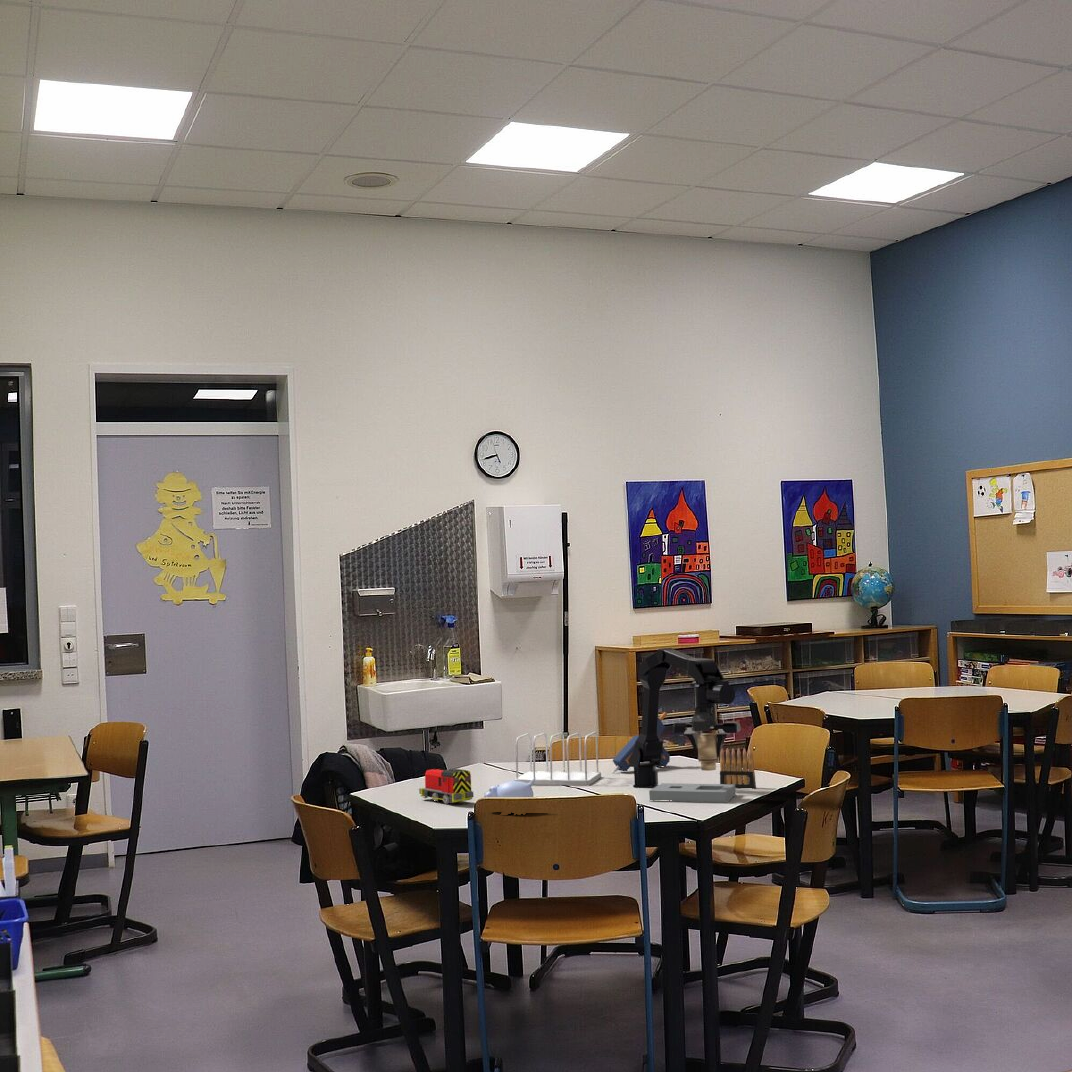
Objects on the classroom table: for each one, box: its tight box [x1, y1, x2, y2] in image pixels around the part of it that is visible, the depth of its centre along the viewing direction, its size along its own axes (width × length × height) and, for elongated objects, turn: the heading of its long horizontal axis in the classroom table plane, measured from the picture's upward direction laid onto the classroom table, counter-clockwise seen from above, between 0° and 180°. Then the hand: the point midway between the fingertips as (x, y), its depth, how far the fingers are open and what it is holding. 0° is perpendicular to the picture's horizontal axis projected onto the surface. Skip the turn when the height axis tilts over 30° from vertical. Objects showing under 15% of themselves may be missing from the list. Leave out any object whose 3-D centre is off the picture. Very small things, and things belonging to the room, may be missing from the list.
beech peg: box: [697, 733, 719, 772], centre depth 338 cm, size 6×6×10 cm
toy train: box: [418, 767, 474, 805], centre depth 351 cm, size 7×19×10 cm, turn 39°
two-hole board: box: [649, 782, 737, 804], centre depth 339 cm, size 22×14×3 cm, turn 69°
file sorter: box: [513, 731, 602, 786], centre depth 383 cm, size 25×17×16 cm
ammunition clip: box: [719, 747, 757, 789], centre depth 355 cm, size 11×2×12 cm, turn 65°
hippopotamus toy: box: [483, 778, 536, 799], centre depth 328 cm, size 11×15×10 cm
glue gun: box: [612, 711, 671, 775], centre depth 403 cm, size 6×31×15 cm
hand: (707, 757), depth 338 cm, fingers closed on beech peg, 6 cm apart
